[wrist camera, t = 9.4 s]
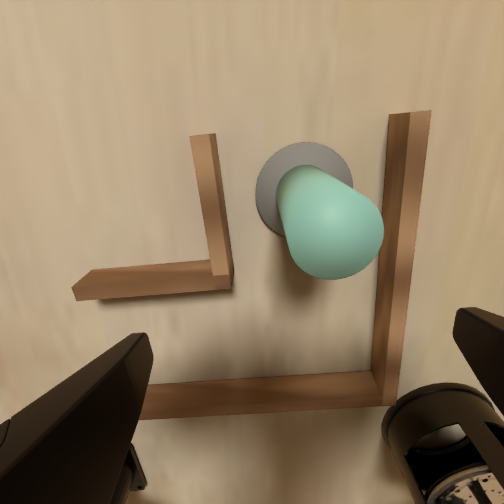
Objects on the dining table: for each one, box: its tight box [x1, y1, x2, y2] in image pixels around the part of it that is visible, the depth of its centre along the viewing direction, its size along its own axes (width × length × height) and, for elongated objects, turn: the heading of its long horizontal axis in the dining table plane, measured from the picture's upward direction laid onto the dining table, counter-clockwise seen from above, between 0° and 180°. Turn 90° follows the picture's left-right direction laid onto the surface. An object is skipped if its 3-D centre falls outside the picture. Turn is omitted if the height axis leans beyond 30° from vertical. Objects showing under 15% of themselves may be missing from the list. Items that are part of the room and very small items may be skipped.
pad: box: [256, 142, 353, 237], centre depth 18 cm, size 6×6×1 cm
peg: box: [276, 165, 384, 280], centre depth 15 cm, size 4×4×8 cm
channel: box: [71, 110, 431, 420], centre depth 20 cm, size 20×21×2 cm
